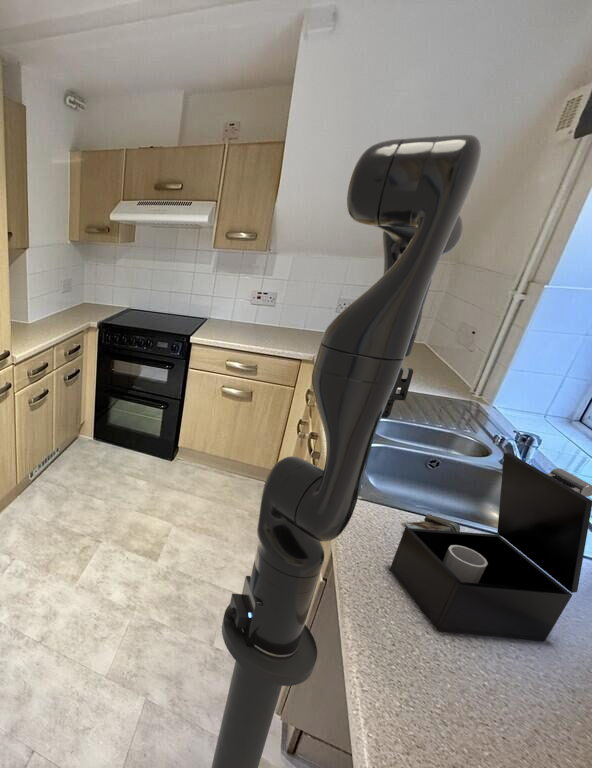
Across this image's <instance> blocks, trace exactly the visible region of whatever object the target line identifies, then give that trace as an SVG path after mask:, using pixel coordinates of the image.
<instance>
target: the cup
mask: <svg viewBox="0 0 592 768" xmlns="http://www.w3.org/2000/svg"><path fill="white" fill-rule="evenodd" d="M443 563H444V564H445V565H446V566H447V567H448V568H449V569H450V571H451V572H452V573H453V574H454V575H455V576H456V577H457V578H458V579H459V580H460V581H461V582H469V583H479V581H480V579H481V577H482V575H483V573H484V571H485V569H486V567H487V565H488V563H487V560H486V559H485V558H484V557H483V556H482V555H481V554H479V553H477V552H476V551H474V550H472V549H469V548H467V547H464V546H459V545H451V546H450V547H449V548H448V550H447V552H446V555H445V557H444V559H443Z"/></svg>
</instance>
